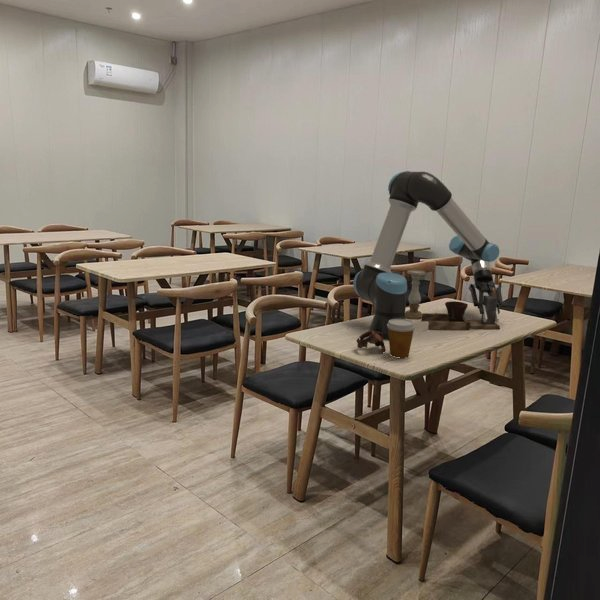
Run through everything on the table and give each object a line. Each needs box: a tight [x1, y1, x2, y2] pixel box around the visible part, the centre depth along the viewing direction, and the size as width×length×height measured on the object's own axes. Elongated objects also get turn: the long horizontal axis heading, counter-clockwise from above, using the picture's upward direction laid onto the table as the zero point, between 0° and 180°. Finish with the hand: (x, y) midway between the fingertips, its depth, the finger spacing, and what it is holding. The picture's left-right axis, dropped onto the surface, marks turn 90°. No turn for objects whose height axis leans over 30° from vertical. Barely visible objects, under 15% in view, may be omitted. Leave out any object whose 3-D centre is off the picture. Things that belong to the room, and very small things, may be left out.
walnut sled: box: [421, 295, 501, 331], centre depth 224 cm, size 29×14×12 cm, turn 89°
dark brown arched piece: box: [355, 331, 387, 354], centre depth 192 cm, size 12×10×8 cm
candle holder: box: [405, 269, 426, 320], centre depth 236 cm, size 9×9×20 cm
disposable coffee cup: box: [387, 318, 416, 359], centre depth 185 cm, size 10×10×12 cm
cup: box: [444, 300, 469, 322], centre depth 224 cm, size 9×9×10 cm
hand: (491, 320), depth 221 cm, fingers closed on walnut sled, 4 cm apart
